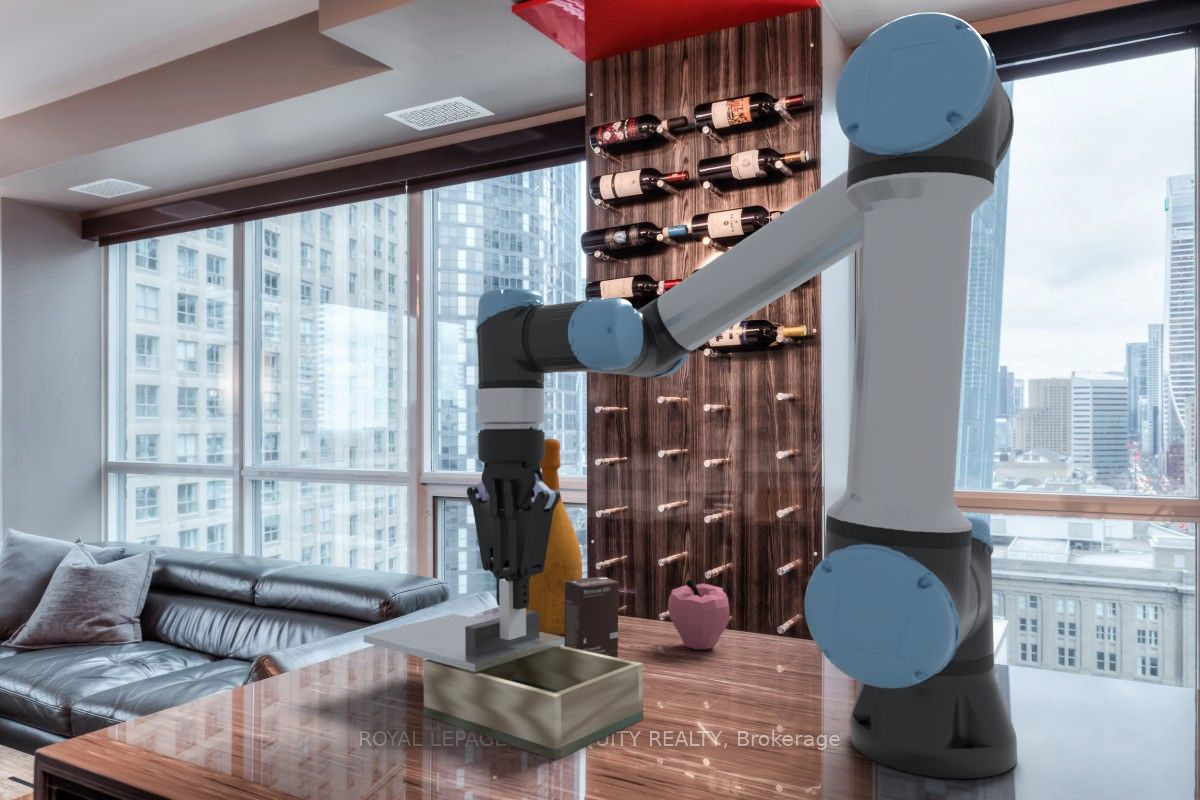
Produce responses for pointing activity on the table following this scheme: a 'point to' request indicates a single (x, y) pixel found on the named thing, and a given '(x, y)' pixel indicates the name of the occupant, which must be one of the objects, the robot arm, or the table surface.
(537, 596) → the wine bottle
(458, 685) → the case
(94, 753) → the table surface
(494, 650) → the cover plate
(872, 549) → the robot arm
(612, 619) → the box
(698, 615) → the apple
